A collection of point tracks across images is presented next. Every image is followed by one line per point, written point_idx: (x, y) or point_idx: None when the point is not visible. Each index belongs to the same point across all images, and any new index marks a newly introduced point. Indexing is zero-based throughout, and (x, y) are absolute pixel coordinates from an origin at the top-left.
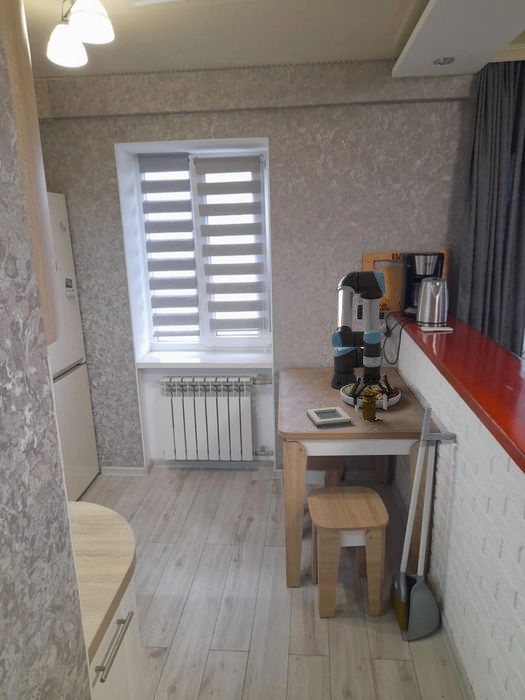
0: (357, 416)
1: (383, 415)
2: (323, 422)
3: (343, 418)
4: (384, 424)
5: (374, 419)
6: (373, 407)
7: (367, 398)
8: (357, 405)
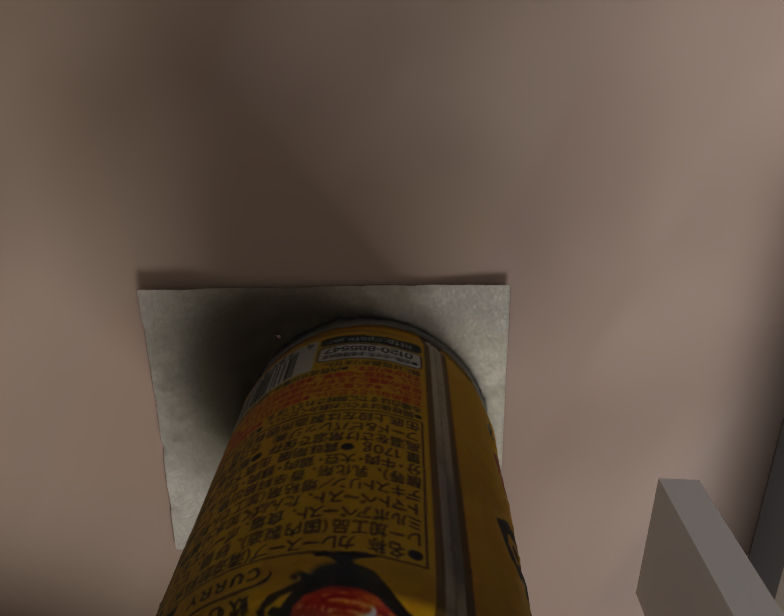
0: None
1: (50, 478)
2: None
3: None
4: (198, 66)
5: (297, 340)
6: (297, 469)
7: None
8: (774, 613)
